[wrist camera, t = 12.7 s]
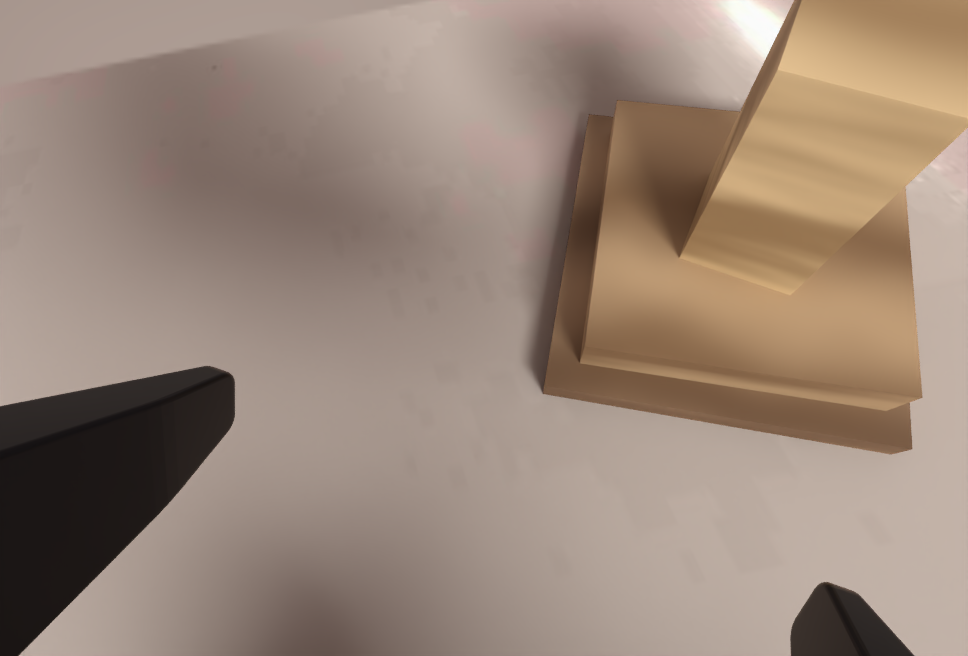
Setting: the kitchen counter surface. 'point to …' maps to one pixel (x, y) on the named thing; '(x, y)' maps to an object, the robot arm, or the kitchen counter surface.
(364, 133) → the kitchen counter surface
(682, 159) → the top slab
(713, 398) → the bottom slab
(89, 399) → the robot arm
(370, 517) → the kitchen counter surface
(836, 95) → the oak block
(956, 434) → the kitchen counter surface
